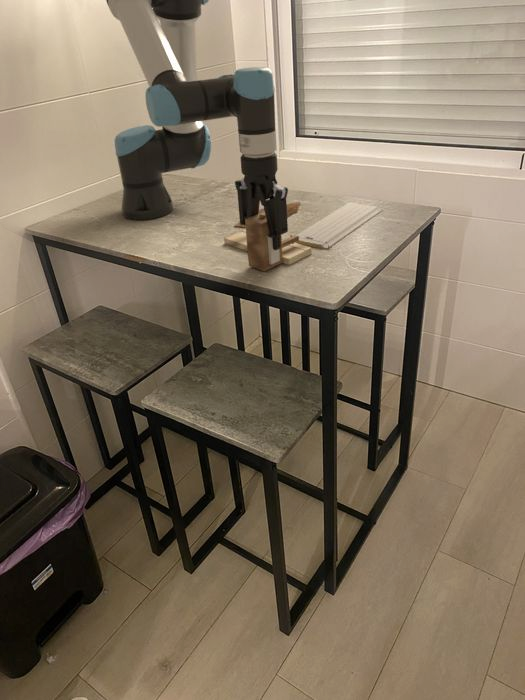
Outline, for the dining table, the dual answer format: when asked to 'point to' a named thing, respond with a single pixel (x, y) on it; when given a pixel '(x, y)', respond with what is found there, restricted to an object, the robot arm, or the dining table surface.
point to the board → (288, 252)
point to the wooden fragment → (290, 210)
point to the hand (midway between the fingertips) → (265, 258)
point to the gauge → (261, 242)
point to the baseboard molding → (337, 225)
